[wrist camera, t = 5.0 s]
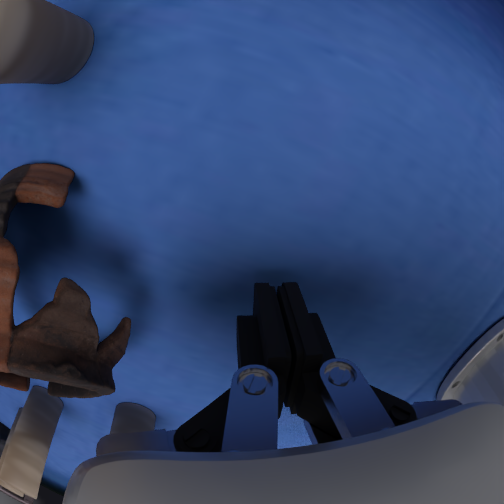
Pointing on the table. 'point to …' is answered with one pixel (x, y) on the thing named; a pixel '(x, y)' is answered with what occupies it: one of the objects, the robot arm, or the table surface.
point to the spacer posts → (45, 72)
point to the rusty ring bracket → (51, 308)
